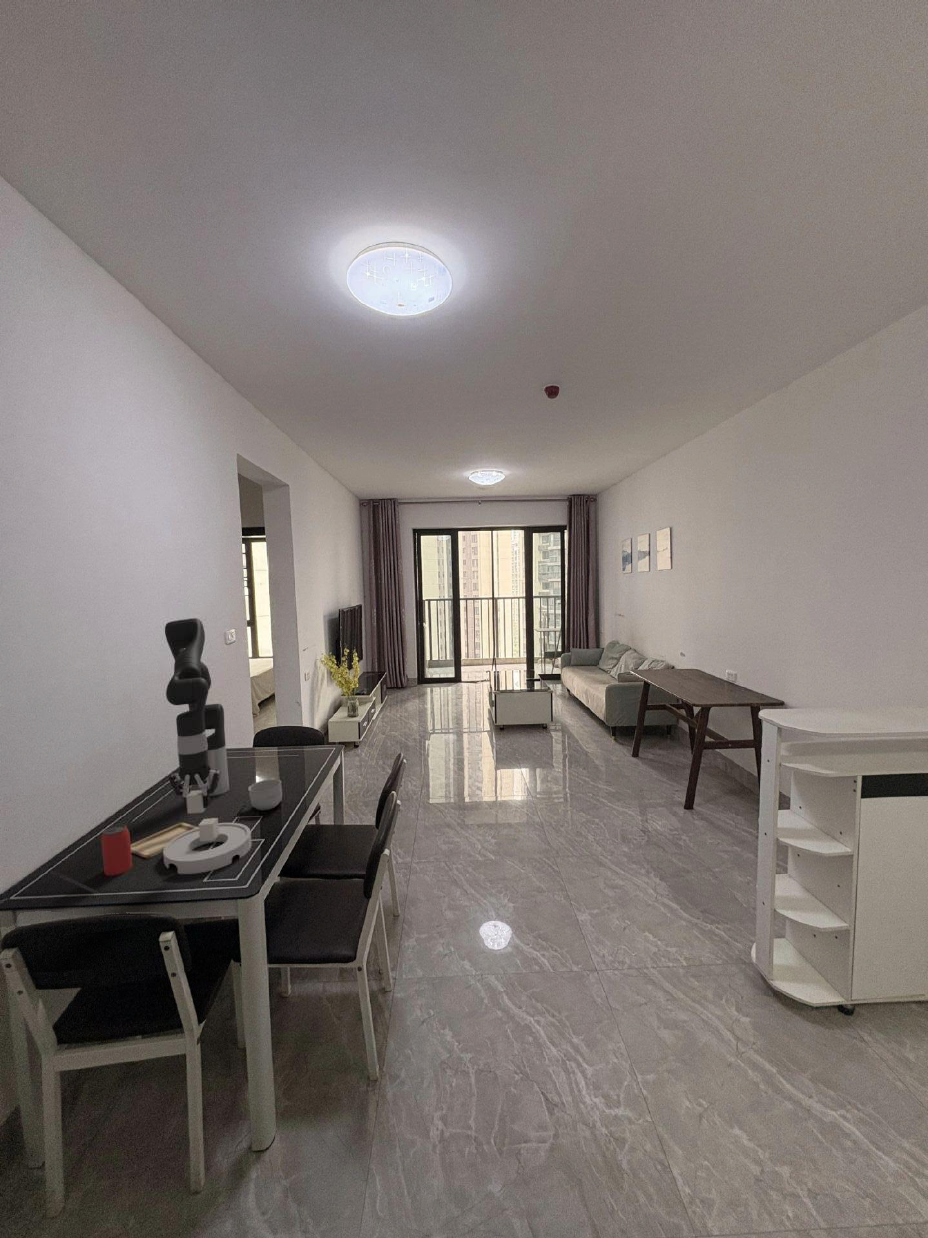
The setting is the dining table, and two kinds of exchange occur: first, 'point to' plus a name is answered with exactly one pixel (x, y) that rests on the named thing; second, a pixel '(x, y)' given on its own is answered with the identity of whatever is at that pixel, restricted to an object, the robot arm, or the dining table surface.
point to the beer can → (116, 850)
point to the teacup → (265, 794)
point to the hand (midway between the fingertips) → (197, 807)
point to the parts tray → (159, 840)
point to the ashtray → (203, 861)
